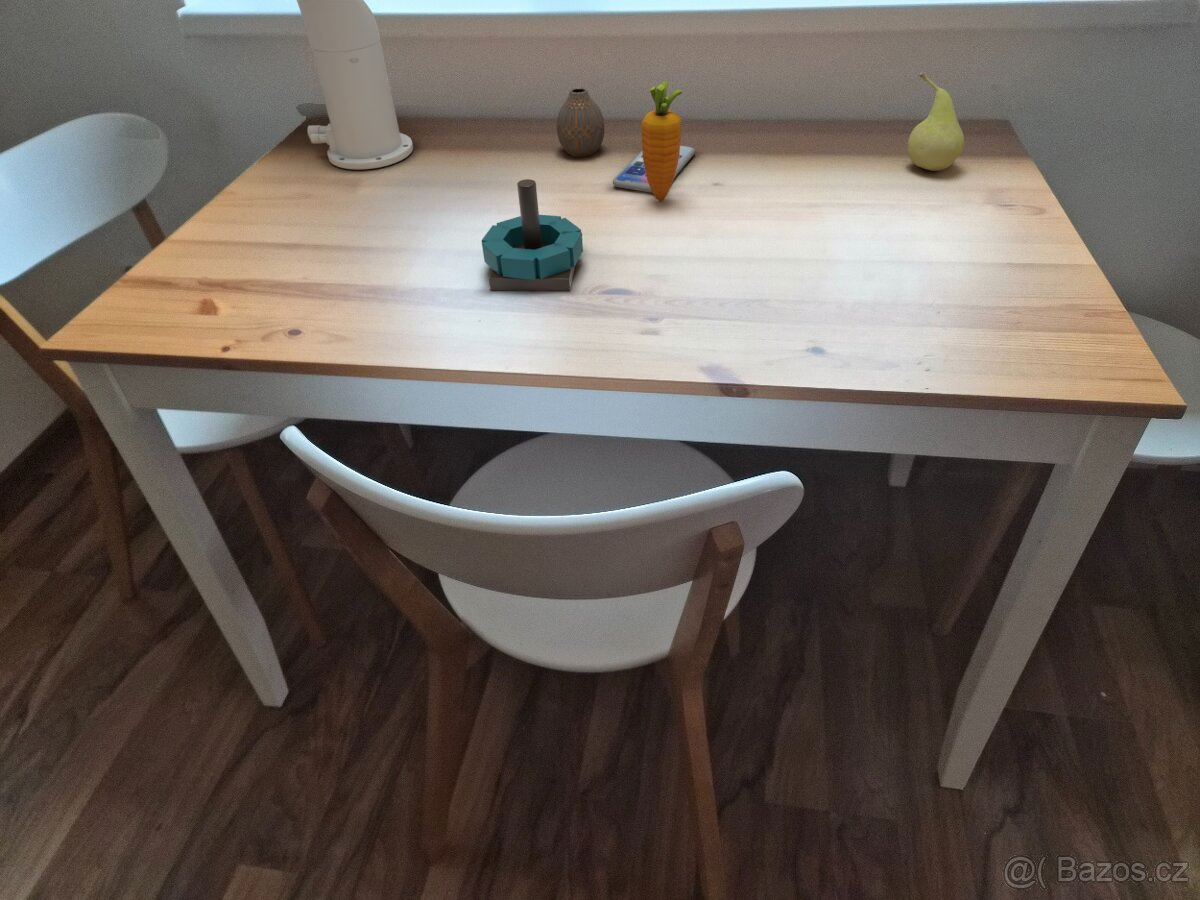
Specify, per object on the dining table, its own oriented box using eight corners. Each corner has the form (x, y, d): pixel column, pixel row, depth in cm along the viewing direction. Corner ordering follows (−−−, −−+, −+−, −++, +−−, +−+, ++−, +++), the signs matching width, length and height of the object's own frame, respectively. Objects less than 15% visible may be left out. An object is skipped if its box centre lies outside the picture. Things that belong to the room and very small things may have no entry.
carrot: (656, 190, 108) (657, 72, 98) (687, 199, 106) (691, 79, 96) (633, 204, 105) (632, 83, 95) (664, 213, 103) (666, 91, 93)
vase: (607, 143, 121) (605, 81, 115) (602, 161, 116) (600, 98, 110) (562, 143, 122) (557, 82, 116) (555, 161, 117) (550, 98, 111)
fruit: (949, 183, 106) (973, 88, 98) (892, 172, 109) (911, 79, 101) (962, 164, 110) (986, 72, 102) (907, 155, 113) (926, 64, 105)
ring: (473, 274, 90) (470, 255, 89) (504, 230, 98) (502, 211, 96) (565, 282, 88) (564, 263, 86) (590, 237, 96) (589, 218, 94)
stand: (490, 290, 90) (477, 201, 83) (503, 251, 97) (492, 166, 90) (570, 290, 90) (563, 200, 83) (578, 251, 96) (572, 165, 89)
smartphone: (697, 146, 116) (661, 188, 106) (697, 153, 117) (661, 195, 107) (649, 140, 118) (609, 180, 108) (649, 146, 119) (609, 187, 109)
